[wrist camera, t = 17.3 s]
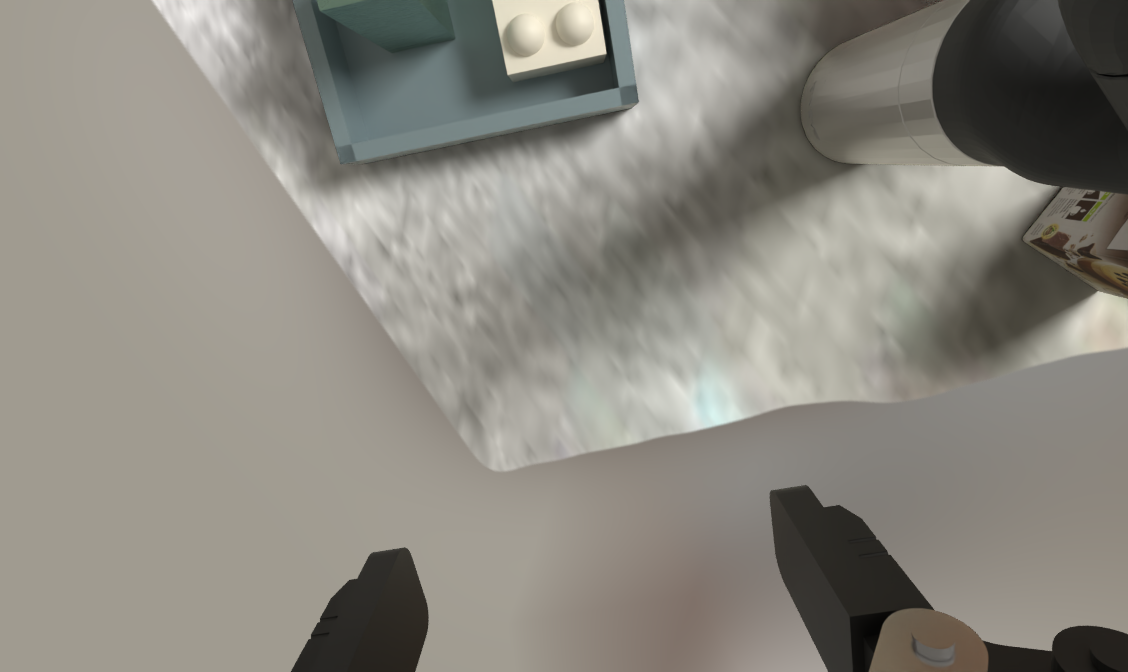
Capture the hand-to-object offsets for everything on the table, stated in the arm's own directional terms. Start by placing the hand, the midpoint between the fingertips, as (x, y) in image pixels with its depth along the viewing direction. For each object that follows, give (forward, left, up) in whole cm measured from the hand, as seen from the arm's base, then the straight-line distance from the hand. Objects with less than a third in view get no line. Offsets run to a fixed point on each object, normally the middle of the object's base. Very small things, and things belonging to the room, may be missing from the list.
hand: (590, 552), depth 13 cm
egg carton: (-1, -21, -38) cm, 43 cm away
